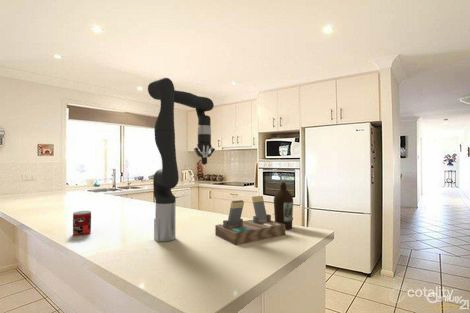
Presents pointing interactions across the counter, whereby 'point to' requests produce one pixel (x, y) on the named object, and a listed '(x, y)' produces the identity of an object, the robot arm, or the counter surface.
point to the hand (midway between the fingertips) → (204, 164)
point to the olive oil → (283, 206)
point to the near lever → (235, 212)
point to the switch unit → (249, 230)
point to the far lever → (259, 208)
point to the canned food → (81, 223)
